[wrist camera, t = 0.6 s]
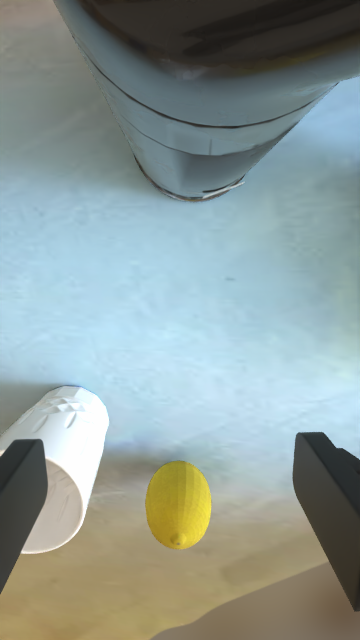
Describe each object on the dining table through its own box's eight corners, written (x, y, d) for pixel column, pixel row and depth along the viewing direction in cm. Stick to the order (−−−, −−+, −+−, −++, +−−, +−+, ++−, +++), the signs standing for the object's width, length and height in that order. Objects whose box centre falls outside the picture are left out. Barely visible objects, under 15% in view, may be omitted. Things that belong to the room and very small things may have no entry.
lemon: (146, 487, 32) (135, 568, 24) (154, 439, 30) (146, 507, 23) (201, 495, 32) (208, 578, 24) (212, 447, 31) (223, 518, 23)
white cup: (103, 464, 31) (69, 566, 21) (22, 442, 31) (-51, 537, 21) (125, 392, 29) (98, 468, 20) (39, 368, 29) (-33, 434, 19)
